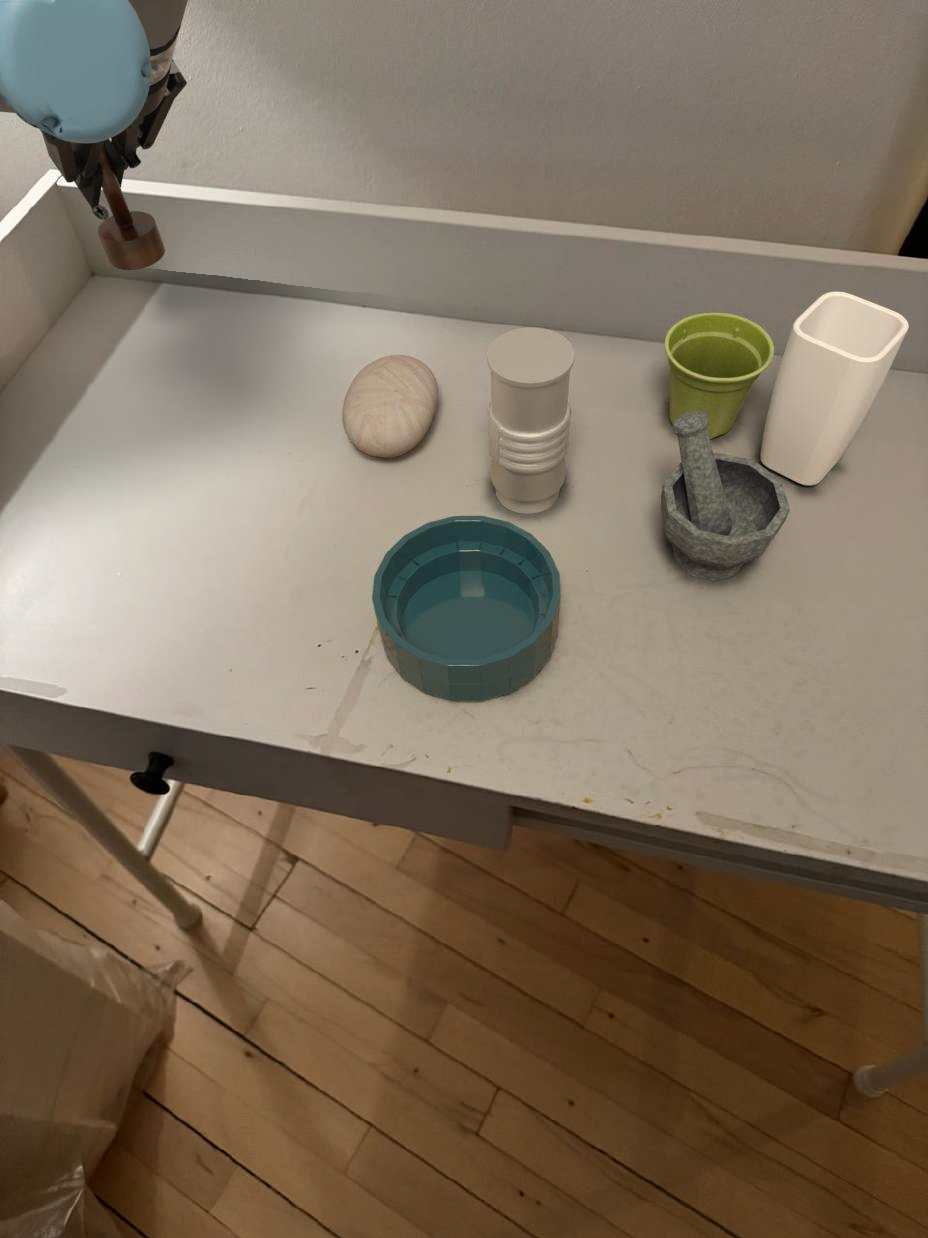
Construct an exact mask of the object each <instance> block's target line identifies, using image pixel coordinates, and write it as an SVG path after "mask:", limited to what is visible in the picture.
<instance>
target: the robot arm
mask: <svg viewBox="0 0 928 1238" xmlns="http://www.w3.org/2000/svg"><path fill="white" fill-rule="evenodd" d="M187 4H188V0H0V113H8V114H9V113H10V114H15V115H17V117H18V118H19V119H20V120H22V121H23V122H24V123H26V124H28V125H29V126H31V127H33V128H36V129H38V130H39V131H40V133H41V135H42V137H43V141H44V144H45V147H46V151H47V155H48V157H49V158H50V159H51V161H52V162H53V164H54V166H55V167H56V168H57V170H58V171H59V173H60V174H61V176H62V178H63V179H64V180H65V181H66V183H69V184H70V183H74V184H75V185H76V187H77V189H78V190H79V192H80V193H81V194H82V196H83V197H84V199H85V200H86V201H87V203H88V205H89V206H90V208H91V209H94V208H95V207H98V206H99V205H100V200H101V193H102V186H101V185H102V180H103V172H102V171H101V169H100V167H99V166H98V163H99V159H100V155H101V152H102V148H103V144H104V146H105V148H106V151H107V153H108V156H109V159H110V161H111V164H112V167H113V169H114V172H115V175H116V177H117V180H118V182H119V185H120V188H121V189H122V184H123V178H124V173H125V171H126V170H128V168H129V169H135V168H137V167H139V166H140V165H141V164H142V160H141V159H140V158H139V156H138V154H137V150H138V148H140V147H141V149H142V150H144V151H146V150H149V149H151V148H152V147H153V145H154V144H155V142H156V140H157V138H158V136H159V134H160V131H161V129H162V127H163V125H164V123H165V121H166V119H167V116H168V114H169V112H170V110H171V108H172V106H173V103H174V101H175V100H176V98H177V97H178V95H180V93H181V92H182V91H183V90H184V88H185V87H186V86H187V84H188V82H187V80H186V78H185V77H184V75H183V74H182V71H181V70H180V69H179V67H178V65H177V64H176V62H175V61H174V59H173V57H174V54H175V49H176V46H177V41H178V36H179V33H180V30H181V26H182V23H183V19H184V16H185V13H186V12H185V11H186V8H187Z"/></svg>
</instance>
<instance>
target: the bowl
mask: <svg viewBox="0 0 928 1238" xmlns="http://www.w3.org/2000/svg"><path fill="white" fill-rule="evenodd" d="M561 597H562V595H561V575H560V572H559V570H558V567H557V565H556V563H555V561H554V558H553V557H552V555H551V552H550V551H549V550H548V549H547V548H546V546H544V545H543V544H542V543H541V542H540V541H539V539H537V538H536V537H535V536H534V535H533V534H532V533H530V532H529V531H527V530H525V529H523V528H521V527H519V526H517V525H516V524H514V523H512V522H510V521H508V520H503V519H498V518H494V517H490V516H485V515H452V516H448V517H445V518H441V519H437V520H433V521H428V522H426V523H424V524H423V525H420V526H419V527H417V528H416V529H413V530H411V531H409V532H408V533H406V534H404V535H403V536H402V537H401V538H400V539H399V540H397V542H396V543H395V544H394V545H392V546H391V548H389V550H387V552H386V553H385V554H384V556H383V558H382V560H381V562H380V564H379V566H378V567H377V570H376V572H375V574H374V576H373V585H372V594H371V600H372V601H371V602H372V605H373V610H374V614H375V618H376V622H377V627H378V630H379V635H380V639H381V642H382V646H383V649H384V653H385V656H386V658H387V660H388V662H389V663H390V664H391V666H392V667H393V668H394V670H395V671H396V673H397V674H398V675H399V676H400V677H401V679H402V680H404V681H406V682H407V683H408V684H410V685H412V686H413V687H415V688H416V689H418V690H419V691H421V692H422V693H424V694H426V695H429V696H433V697H437V698H439V699H443V700H447V701H450V702H482V701H483V702H484V701H487V700H490V699H493V698H498V697H501V696H504V695H507V694H511V693H513V692H514V691H516V690H517V689H519V688H520V687H522V686H524V685H525V684H526V683H529V682H530V681H531V680H532V679H533V680H534V678H535V676H537V674H538V673H539V672H540V670H541V669H542V668H543V667H544V665H545V664H546V663H547V662H548V661H549V659H550V658H551V656H552V653H553V650H554V647H555V643H556V641H557V638H558V633H559V623H560V611H561Z"/></svg>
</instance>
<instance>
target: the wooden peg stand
mask: <svg viewBox="0 0 928 1238" xmlns="http://www.w3.org/2000/svg"><path fill="white" fill-rule="evenodd" d="M98 166H99V167H100V169H101V171H102V172H103V180H102V185H101V186H102V187H101V190H102V191H103V195H104V197H105V199H106V201H107V204H108V207H109V209H110V212H111V214H112V215H111V216H110V217H107V218H106V219H104V220H103V221H102V222H101V223H100V224H99V226H98V227H97V236H98V238H99V240H100V243H101V245H102V247H103V250H104V252H105V255H106V257H107V259H108V262H109V263H110V265H111V266H112V267H113V268H115V269H117V270H121V271H138V270H143V269H145V268H149V267H150V266H153V265H155V264H156V263H158V262H159V261H160V260H161V259H162V258H163V257H164V255H165V253H166V248H165V244H164V242H163V239H162V235H161V233H160V231H159V227H158V225H157V221H156V219H155V218H154V216H153V215H152V214H151V213H148V212H145V211H139V210H130V209H129V206H128V204H127V201H126V198H125V196H124V193H123V191H122V187H121V188H120V185H119V182H118V180H117V177H116V175H115V172H114V169H113V167H112V164H111V161H110V159H109V156H108V153H107V151H106V148H105V146H104V144H103V148H102V152H101V155H100V159H99V163H98Z"/></svg>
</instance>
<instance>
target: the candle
mask: <svg viewBox="0 0 928 1238" xmlns="http://www.w3.org/2000/svg"><path fill="white" fill-rule="evenodd" d="M486 361H487V367H488V368H489V370H490V394H491V395H490V396H491V397H490V398H491V401H490V402H489V404H488V408H487V418H488V419H487V428H488V432H487V433H488V455H489V457H490V458H491V460H490V461H491V462H490V463H491V464H490V473H489V474H490V481H491V483H492V485H493V487H494V488H495V489H494V491H495V497H496V498H497V500H498V502H499V503H500V504H501V505H502V506H503V507H504V508H506V509H508V510H509V511H511V512H513V513H517V514H525V515H531V514H537V513H541V512H544V511H546V510H548V509H550V508H552V506H554V505H555V503H556V502H557V501H558V499H559V497H560V492H561V491H560V490H561V488H562V486H563V485H564V483H565V481H566V474H567V471H566V456H567V455H568V450H569V443H570V441H569V440H570V428H571V415H572V409H571V403H570V402H569V392H570V391H569V390H570V378H571V376H570V375H571V370H572V369H573V366H574V364H575V363H574V362H575V350H574V346H573V345H572V344H571V342H570V341H569V339H567V338H566V337H565V336H563V335H562V334H561V333H559V332H556V331H554V330H551V329H548V328H543V327H533V326H528V327H519V328H516V329H511V330H509V331H506V332H505V333H502V334H500V335H499V336H497V337H496V338H495V339H494V340H493V341H492V342H491V343H490V345H489V347H488V349H487V353H486Z"/></svg>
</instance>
